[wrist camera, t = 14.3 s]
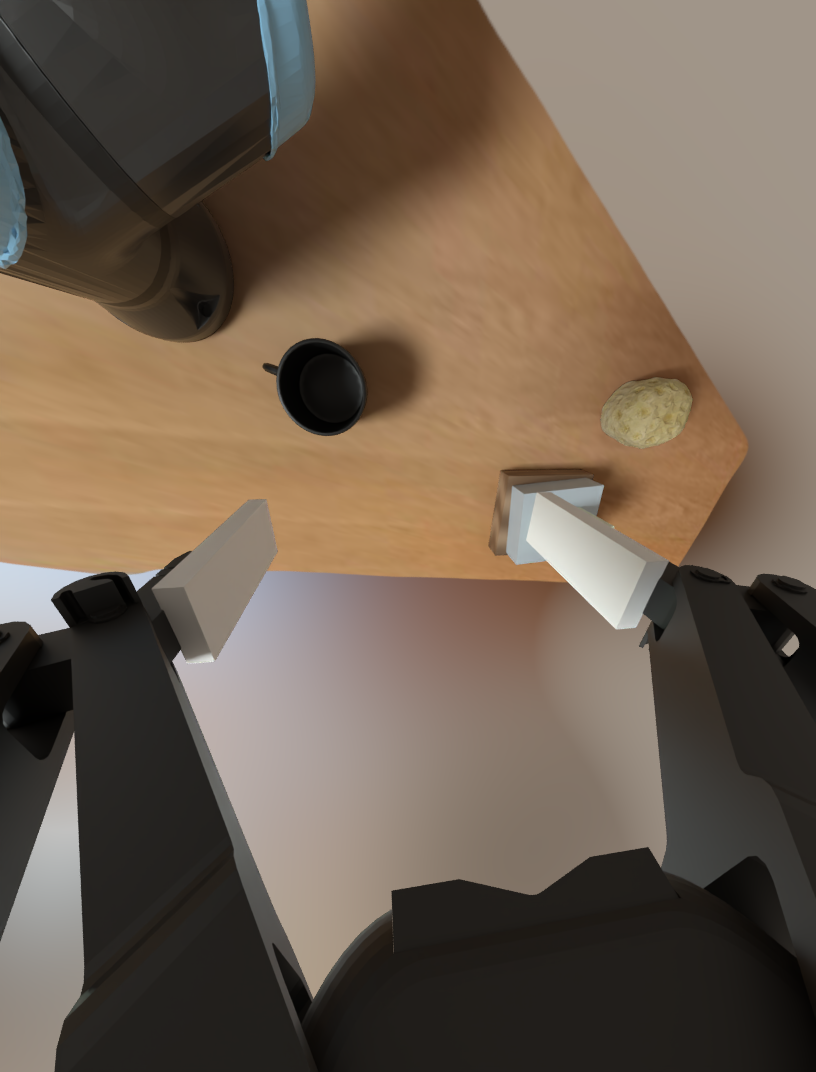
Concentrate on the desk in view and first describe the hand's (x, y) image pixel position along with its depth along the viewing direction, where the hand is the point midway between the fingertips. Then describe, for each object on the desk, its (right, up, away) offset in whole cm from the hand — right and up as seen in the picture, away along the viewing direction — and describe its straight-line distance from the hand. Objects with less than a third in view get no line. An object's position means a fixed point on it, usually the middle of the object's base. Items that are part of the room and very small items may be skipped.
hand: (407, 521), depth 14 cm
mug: (-11, +19, +25) cm, 33 cm away
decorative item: (+34, +19, +31) cm, 50 cm away
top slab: (+23, +2, +34) cm, 41 cm away
